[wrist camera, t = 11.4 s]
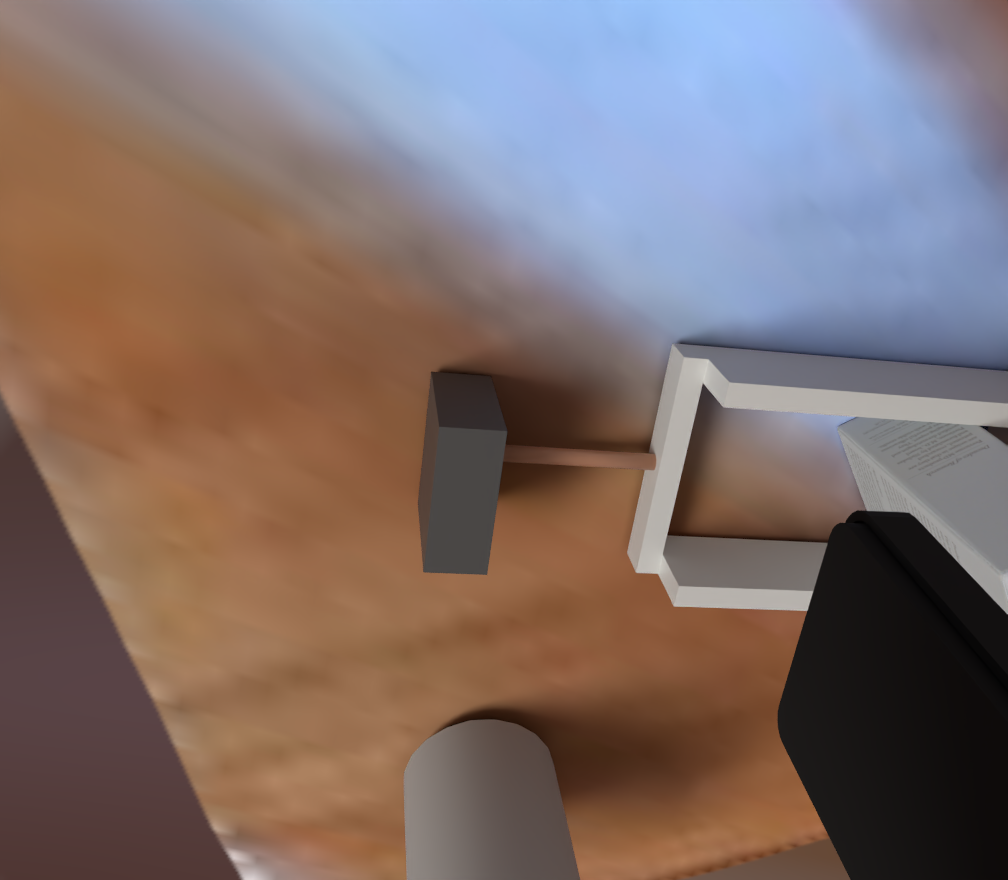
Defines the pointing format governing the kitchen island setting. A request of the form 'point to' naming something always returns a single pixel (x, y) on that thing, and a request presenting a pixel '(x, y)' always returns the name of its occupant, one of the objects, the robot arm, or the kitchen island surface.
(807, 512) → the kitchen island surface
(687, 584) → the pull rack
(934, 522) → the skincare box
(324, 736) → the kitchen island surface
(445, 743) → the can
